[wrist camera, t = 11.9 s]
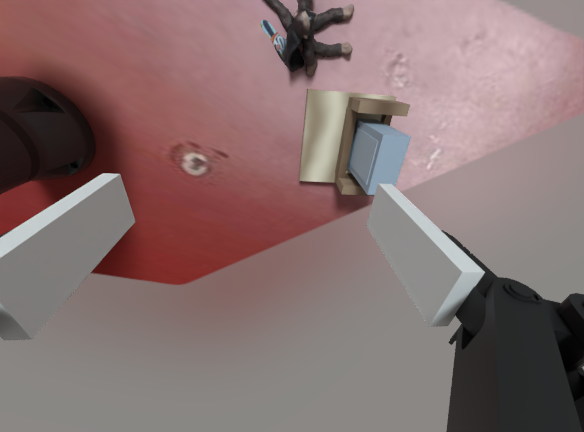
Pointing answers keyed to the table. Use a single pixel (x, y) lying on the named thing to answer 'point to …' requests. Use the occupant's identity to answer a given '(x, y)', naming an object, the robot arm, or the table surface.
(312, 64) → the stuffed animal
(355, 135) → the light blue rectangular block
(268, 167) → the table surface
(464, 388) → the robot arm
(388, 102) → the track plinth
